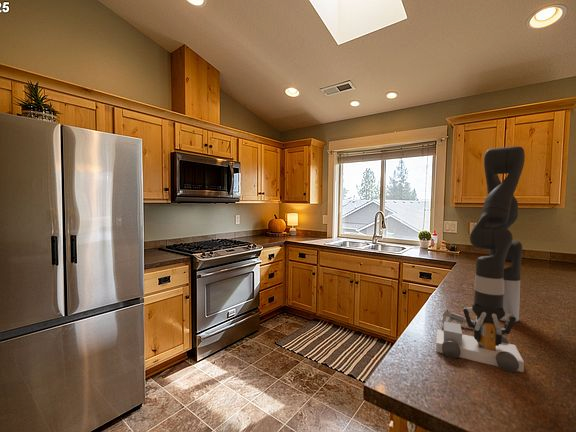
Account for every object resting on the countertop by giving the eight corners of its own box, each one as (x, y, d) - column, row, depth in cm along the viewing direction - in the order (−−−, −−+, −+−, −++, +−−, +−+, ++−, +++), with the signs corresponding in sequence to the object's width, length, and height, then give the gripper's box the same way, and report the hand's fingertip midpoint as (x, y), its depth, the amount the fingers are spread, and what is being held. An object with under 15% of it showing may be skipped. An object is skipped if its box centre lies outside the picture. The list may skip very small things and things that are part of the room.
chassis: (436, 335, 100) (437, 316, 100) (512, 351, 89) (513, 330, 89) (436, 354, 87) (436, 333, 87) (525, 376, 76) (526, 351, 76)
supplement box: (487, 349, 88) (488, 319, 88) (496, 355, 85) (497, 324, 84) (477, 349, 88) (478, 319, 88) (485, 355, 85) (487, 324, 84)
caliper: (442, 323, 110) (443, 308, 110) (442, 322, 111) (443, 307, 111) (505, 335, 101) (506, 318, 100) (505, 334, 102) (505, 317, 101)
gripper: (514, 290, 85) (512, 343, 86) (461, 283, 92) (459, 332, 93) (521, 297, 79) (518, 354, 80) (462, 289, 86) (461, 342, 87)
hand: (487, 342), depth 86 cm, fingers closed on supplement box, 4 cm apart
